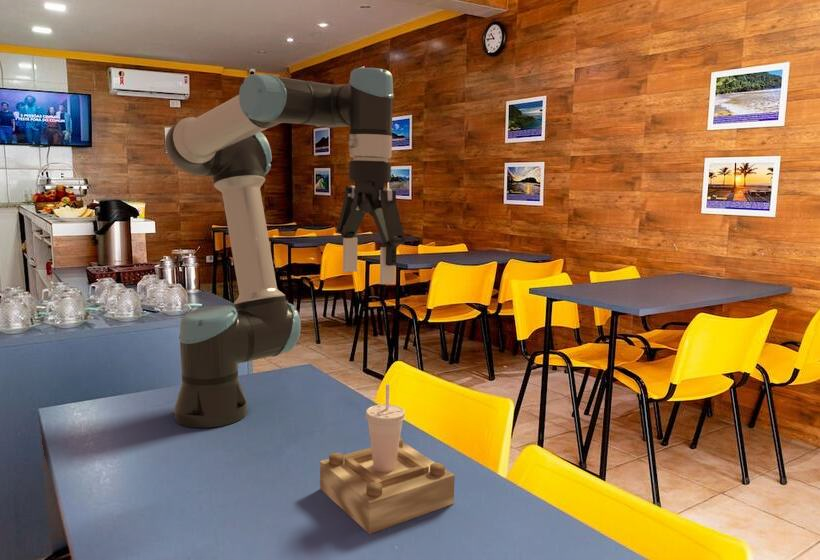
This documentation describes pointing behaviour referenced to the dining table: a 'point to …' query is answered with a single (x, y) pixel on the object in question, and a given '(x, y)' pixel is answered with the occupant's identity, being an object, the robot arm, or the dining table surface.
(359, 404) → the dining table surface
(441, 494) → the base brick
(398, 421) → the smoothie
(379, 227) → the robot arm
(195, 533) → the dining table surface
